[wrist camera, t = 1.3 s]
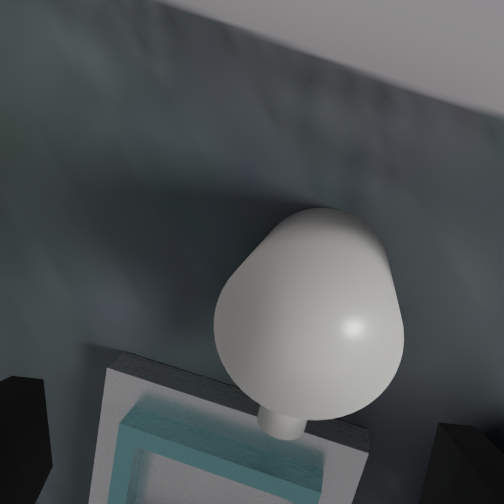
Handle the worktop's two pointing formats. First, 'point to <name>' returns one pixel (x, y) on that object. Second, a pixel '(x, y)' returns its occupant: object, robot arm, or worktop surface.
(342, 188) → the worktop surface
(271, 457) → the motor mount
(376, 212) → the worktop surface
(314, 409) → the grey rounded piece
